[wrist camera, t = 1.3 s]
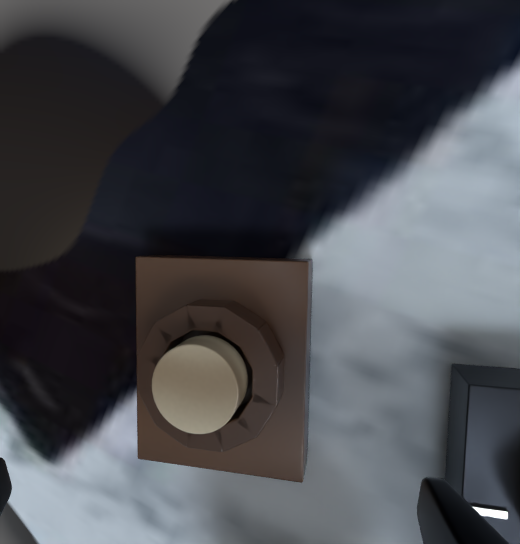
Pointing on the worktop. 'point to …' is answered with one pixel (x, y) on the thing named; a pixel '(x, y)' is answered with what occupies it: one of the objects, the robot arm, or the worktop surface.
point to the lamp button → (200, 384)
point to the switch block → (250, 345)
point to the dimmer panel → (486, 444)
